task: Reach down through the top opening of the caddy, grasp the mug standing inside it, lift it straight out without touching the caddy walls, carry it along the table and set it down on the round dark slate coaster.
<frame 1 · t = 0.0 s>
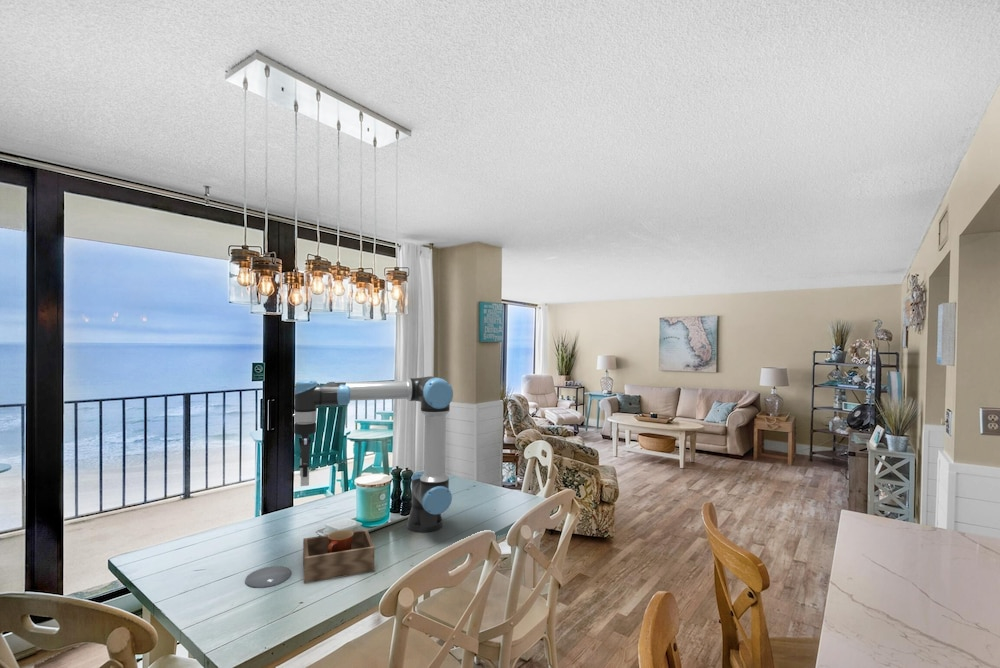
hand: (304, 480, 176), 28 cm above the table, fingers open, 13 cm apart
mug: (337, 566, 170), resting in caddy
coaster: (268, 577, 161), on the table
caddy: (337, 565, 170), on the table
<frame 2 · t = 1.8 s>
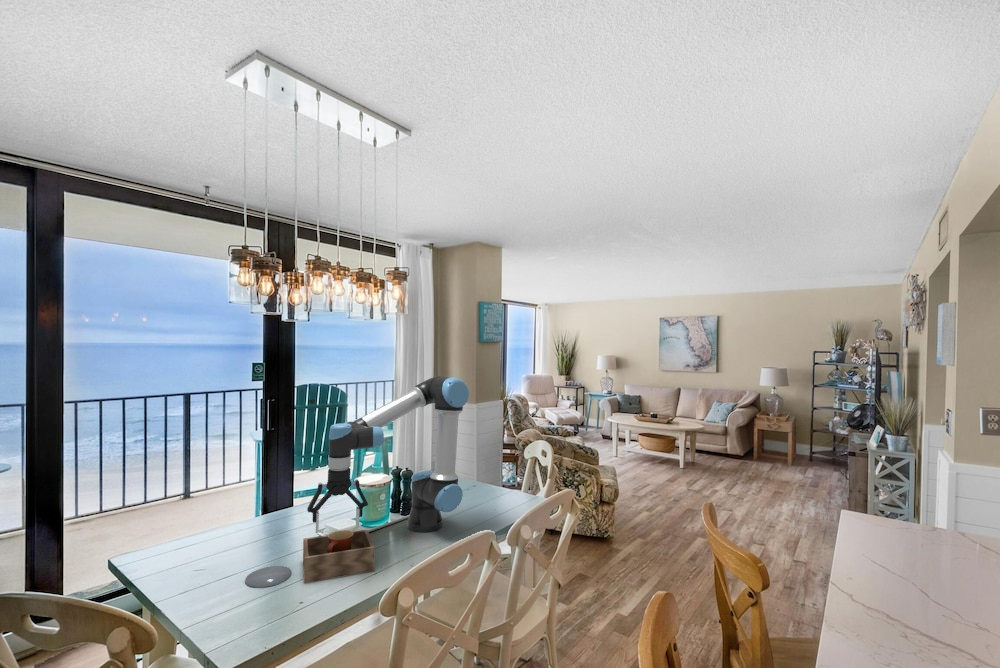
hand: (337, 528, 170), 13 cm above the table, fingers open, 13 cm apart
nothing on the table moved.
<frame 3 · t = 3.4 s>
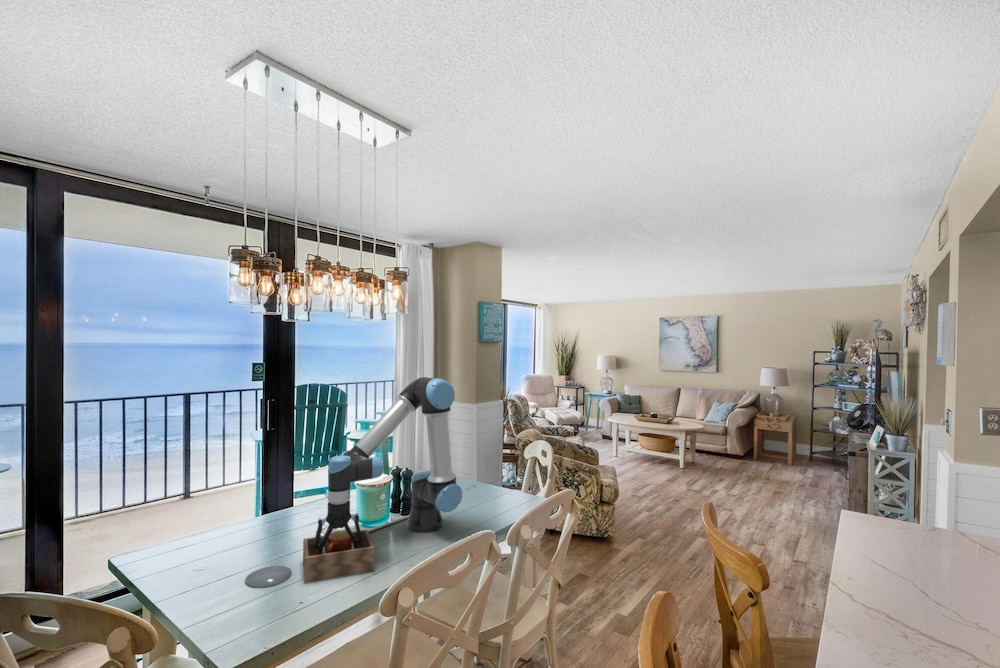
hand: (337, 565, 169), 0 cm above the table, fingers open, 9 cm apart
mug: (337, 566, 169), resting in caddy, touching gripper
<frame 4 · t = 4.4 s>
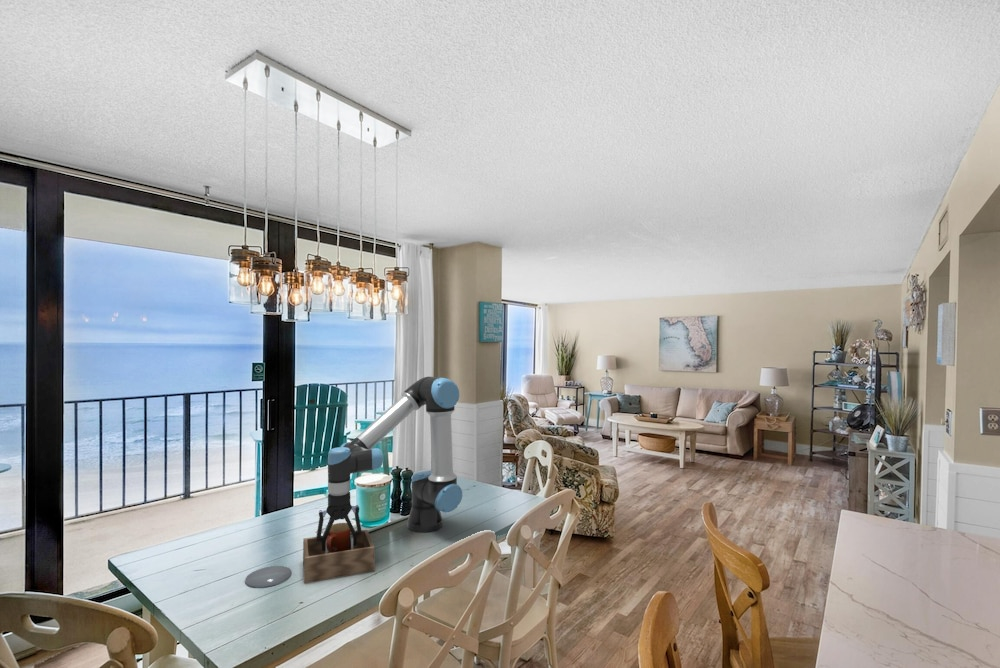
hand: (339, 557, 170), 3 cm above the table, fingers closed on mug, 8 cm apart
mug: (337, 558, 170), point 2 cm above the table, touching gripper
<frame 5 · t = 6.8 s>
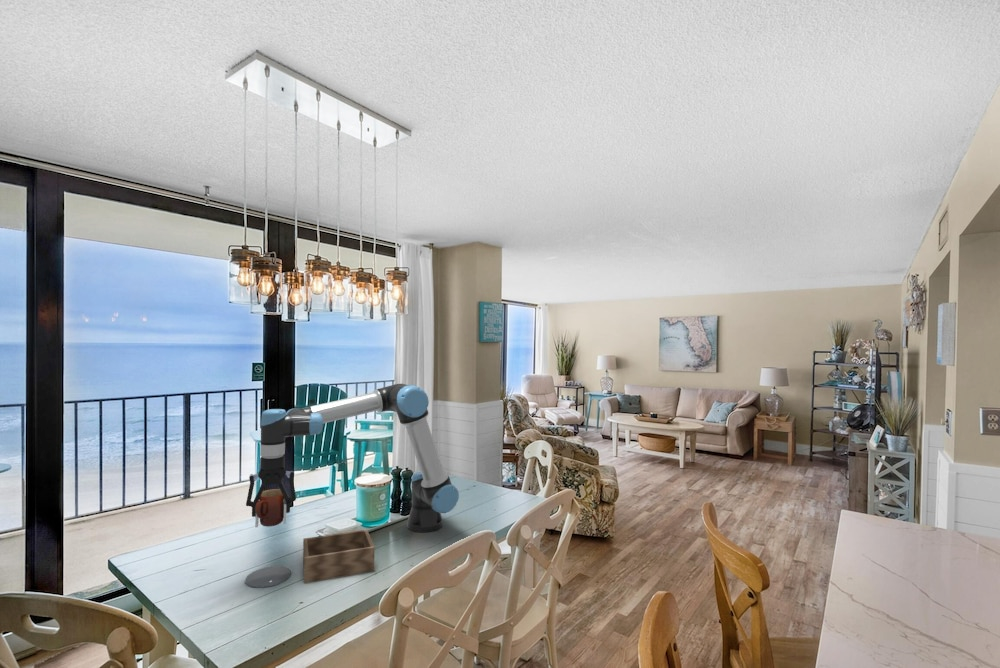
hand: (270, 524, 161), 18 cm above the table, fingers closed on mug, 8 cm apart
mug: (268, 525, 161), point 17 cm above the table, touching gripper
when the fingers open (2 cm above the table, at t = 9.6 s): mug drops 1 cm, resting on coaster.
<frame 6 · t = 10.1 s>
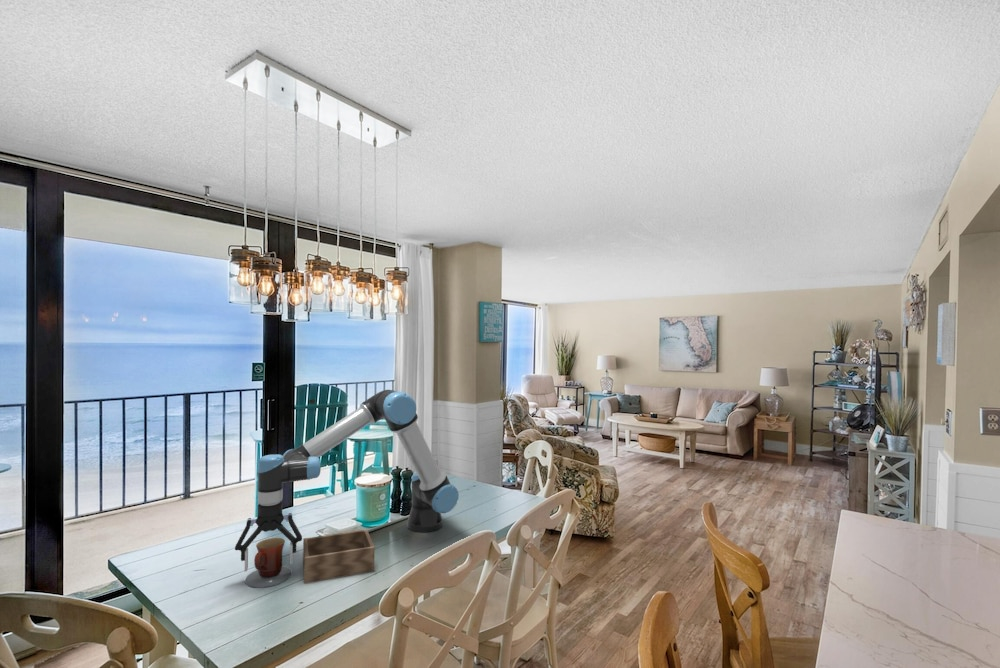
hand: (269, 566, 161), 4 cm above the table, fingers open, 13 cm apart
mug: (267, 576, 160), resting on coaster
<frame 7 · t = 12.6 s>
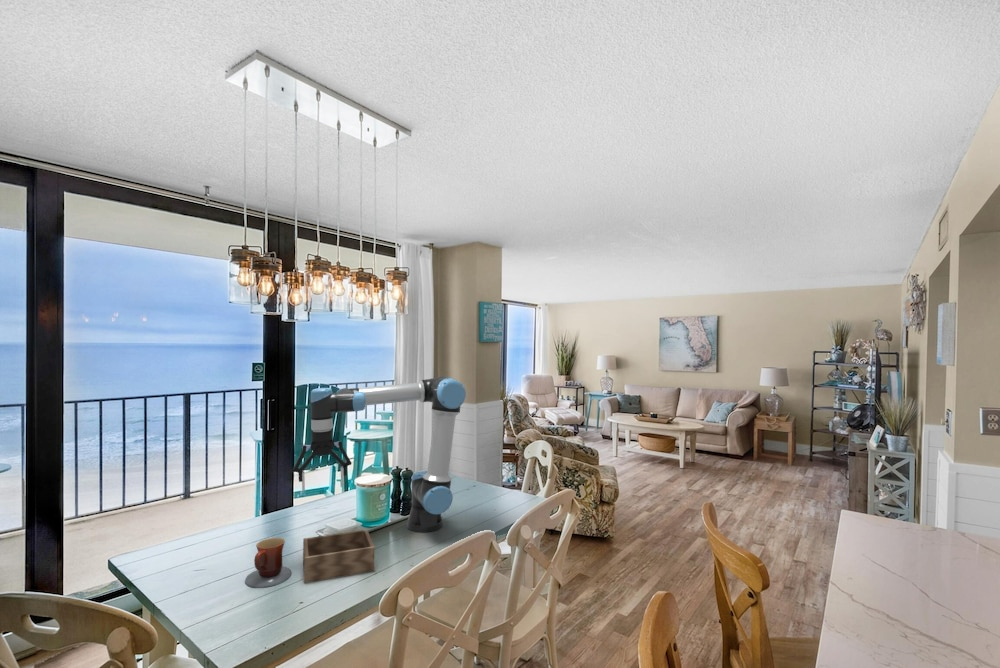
hand: (323, 487, 178), 25 cm above the table, fingers open, 13 cm apart
nothing on the table moved.
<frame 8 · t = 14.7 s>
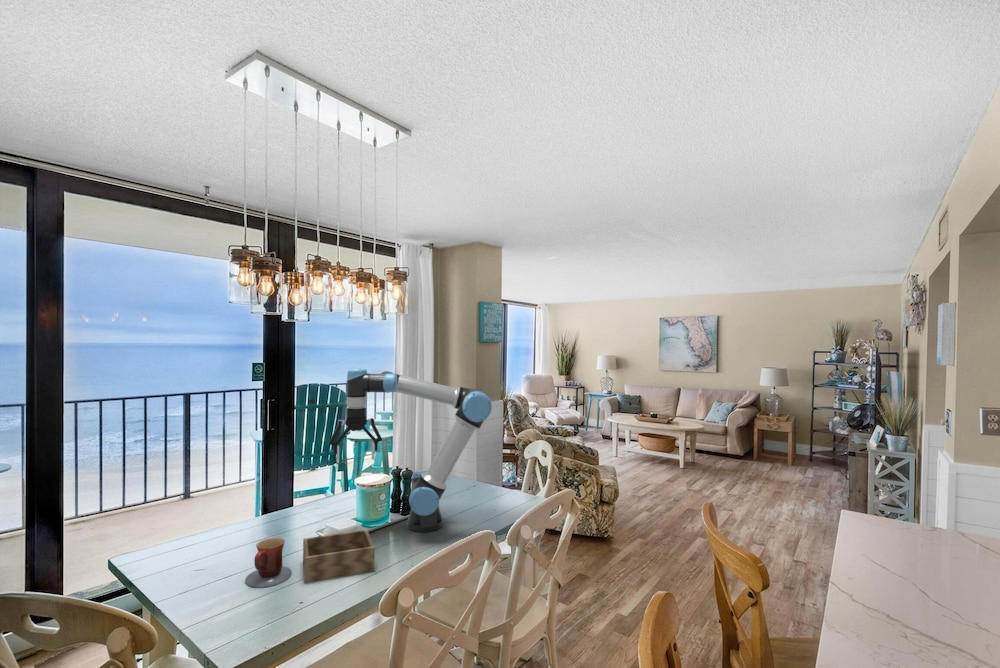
hand: (355, 460, 192), 32 cm above the table, fingers open, 13 cm apart
nothing on the table moved.
at the end: mug 0.5 cm from the coaster (horizontally); mug tilted 0°; mug resting on coaster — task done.
